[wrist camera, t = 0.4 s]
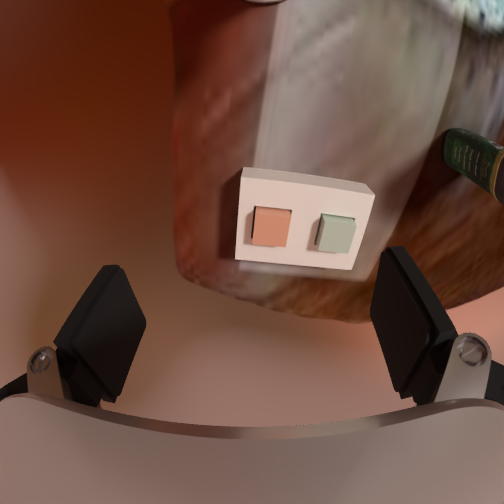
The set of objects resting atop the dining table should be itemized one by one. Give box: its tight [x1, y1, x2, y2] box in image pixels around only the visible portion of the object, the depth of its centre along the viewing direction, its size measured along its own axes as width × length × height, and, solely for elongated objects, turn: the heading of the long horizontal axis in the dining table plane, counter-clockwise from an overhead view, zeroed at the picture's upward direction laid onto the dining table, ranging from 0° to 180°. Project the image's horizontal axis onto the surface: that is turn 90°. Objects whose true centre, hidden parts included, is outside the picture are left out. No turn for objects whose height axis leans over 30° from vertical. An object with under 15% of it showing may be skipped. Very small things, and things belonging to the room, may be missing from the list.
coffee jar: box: [443, 128, 504, 205], centre depth 29 cm, size 10×8×19 cm
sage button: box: [315, 213, 357, 254], centre depth 42 cm, size 5×5×3 cm
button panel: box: [235, 167, 375, 270], centre depth 44 cm, size 14×20×5 cm
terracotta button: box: [252, 206, 291, 247], centre depth 41 cm, size 5×5×3 cm
